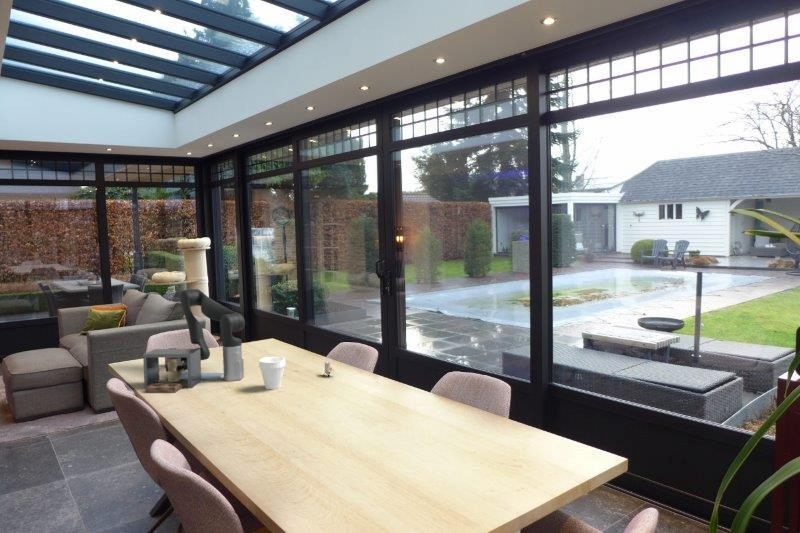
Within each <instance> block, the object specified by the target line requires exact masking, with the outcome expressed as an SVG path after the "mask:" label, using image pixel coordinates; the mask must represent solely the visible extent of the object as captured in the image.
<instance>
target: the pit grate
mask: <svg viewBox="0 0 800 533" xmlns="http://www.w3.org/2000/svg"><path fill="white" fill-rule="evenodd" d="M182 385H183V384H182V383H179V382H178V383H176V382H175V383H173V382H171V383H161V382H160V383H159V382H158V383H153V384H151V385H149V386H147V387H146V388H145V394H146V393H150V394H152V393H155V394H157V393H164V394H166V393H168V394H169V393H171V394H172V393H173V394H174V393H177V392H178V390H179V391H180V390H181V388H183V387H182Z"/></svg>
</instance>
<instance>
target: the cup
mask: <svg viewBox="0 0 800 533" xmlns="http://www.w3.org/2000/svg"><path fill="white" fill-rule="evenodd" d="M258 362H259V365H258V367H259V369H260V372H261V376H262V380H263V384H264V387H265V390H268V389H274V390H278V389H277V388H279V389H281V385H282V380H283V376H284V370H285V367H286V358H285V357H283V356H269V357H267V356H266V357H263V358H260V359H259V360H258Z"/></svg>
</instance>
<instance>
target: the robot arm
mask: <svg viewBox="0 0 800 533" xmlns="http://www.w3.org/2000/svg"><path fill="white" fill-rule="evenodd" d="M179 301H180V305H181V308H182V311H183V312H182V313H183V315H184V317H185V321H186V324H187V327H188V332H189V338H190V343H191V344H193V345H199V347H197V348H195V349H200V357H201V361H206V360H208V359H209V358H210V355H211V352H210V349H209V347H208V345H207V342H206V340H205V337H204V330H203V326H202V324H201V323H200V321H198V319H197V317H195V315H194V314H193V311H192V309H191V307H195V306H196V307H197V306H199V307H200V311H201V313H202V315H203V316H204V317H206V318H208V319H210V320H213V321H218V322H219V328H220V338H221V342H222V363H223V364H222V366H223V367H222V368H223V373H224V375H223V380H224V381H225V382H227V381H228V382H233V381H241V380H242V379H244V378H245V367H244V366H245V365H244V358H243V346H242V344H243V342H242V339H241V338H239V337H235V336H233V333H236V332H240V331H242V330H243V329H244V328H245V326H246V320H245V318H244V316H243V315H242V314H241V313H239V312H237V311H234V310H232V309H229V308H228V307H227V306H224V305H222V304H221V303H219V302H217V301H215V300H214V299H212V298H210V297H209V296H208V295H206V294H205V293H204V292H203V291H202V290H200V289H198V288H195V289H184V290H182V291H181V292H180V294H179ZM180 370H181V371H188V369H187V357H181V366H178V367H176V371H177V372H178V371H180ZM165 371H166V372H167V373H168V363H167V364H166V367H165Z"/></svg>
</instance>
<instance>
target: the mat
mask: <svg viewBox="0 0 800 533" xmlns="http://www.w3.org/2000/svg"><path fill="white" fill-rule="evenodd" d="M222 375H223V376H224V372H201V381H202V380H203V381H216V380H218V379H220V378H221V377H223V376H222ZM165 380H166V381H168V378H167V377H166V379H165ZM185 380H186V381H188V372H181V380H180V381H185Z"/></svg>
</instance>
